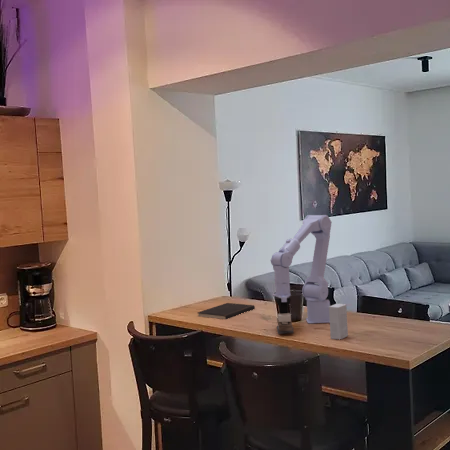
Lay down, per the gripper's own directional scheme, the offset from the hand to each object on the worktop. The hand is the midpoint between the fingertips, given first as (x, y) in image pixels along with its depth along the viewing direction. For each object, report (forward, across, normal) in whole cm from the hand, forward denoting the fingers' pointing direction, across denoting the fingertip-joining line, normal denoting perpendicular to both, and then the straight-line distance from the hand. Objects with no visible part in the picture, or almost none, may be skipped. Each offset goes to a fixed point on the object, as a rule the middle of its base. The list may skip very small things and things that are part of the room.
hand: (283, 316), depth 229 cm
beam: (+5, +2, 0) cm, 6 cm away
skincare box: (+5, +15, +19) cm, 25 cm away
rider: (+2, +3, 0) cm, 4 cm away
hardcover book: (+6, -37, -24) cm, 45 cm away
